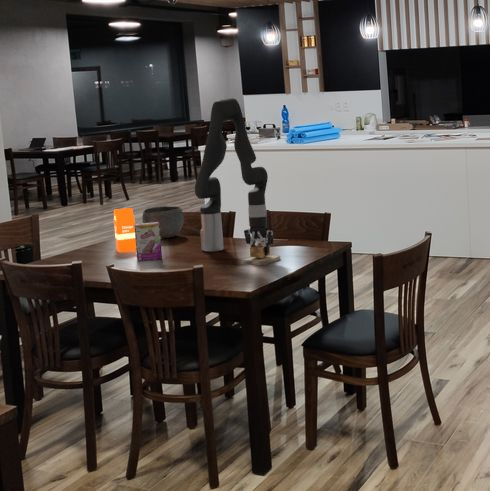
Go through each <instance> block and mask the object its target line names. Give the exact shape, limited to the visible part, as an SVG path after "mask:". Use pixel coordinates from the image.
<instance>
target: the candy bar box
mask: <svg viewBox="0 0 490 491" xmlns="http://www.w3.org/2000/svg"><path fill="white" fill-rule="evenodd" d="M134 228H135V240H136V260H137V262H148V261H149V262H151V261H158V260H159V261H160V260H163V252H162V239H161V237H160V224H159V222H153V223H143V222H142V223H135V224H134Z"/></svg>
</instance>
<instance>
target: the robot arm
mask: <svg viewBox="0 0 490 491" xmlns="http://www.w3.org/2000/svg"><path fill="white" fill-rule="evenodd" d="M210 112H211V113H210V120H209V129H208V133H207V138H206V142H205V146H204V149H203V150H204V152H203V156H202V161H201V164H200V169H199V171H198V174H197V176H196V180H195V184H194V194H195V196H196V197H197V198H198V199H200V200H202V199H204V200H205V199H209V200H208V202H206V204H203V205H202V206H201V207H200V211H199V213H200V222H201V229H200V230H199V232H200V233H199V235H200V243H201V244H200V246H201V251H204V252H218V251H223V250H224V236H223V224H222V211H221V208H222V192H221V191H222V189H221V182H220V180H219V178H217V177H215V176H211V175H212V174H213V173H214V171H216V170H217V169H218V168H219V167H220V166H221V164H222V163H223V161H224V160H225V158H226V157H225V156H226V152H227V148H228V145H227V141H226V139H225V137H224V135H223V132H222V128H223V124H224V122H228V121H232V122H233V124H234V128H235V135H234V142H233V143H234V144H233V146H234V151H235V153H236V157H237V158H238V161H239V163H240V170H241V171H240V172H241V178H242V181H243V182H244V184H246V185H248V186H254V188H253V189H251V190H249V191H248V193H247V199H248V200H247V201H248V202H247V203H248V209H247V210H248V222H249V223H248V226H249V228H248V229H244V230H243V233H244V238H245V244H246V245H249V246H250V247H253V246H256V243H257V241H258V240H260V241H261V243H262V245H264V246H265V247H264V254H265V255H268V254H269V246H271V245H273V244H274V235H275V233H274V232H275V231H274V230H269V229H268V217H267V216H268V214H267V207H266V195H265V194H266V191H267V190H266V189H267V185H268V184H267V183H268V172H267V170H266V168H265V167H263V166H255V167H252V164H253V163H255V162H256V161H257V156H256V153H255V152H254V149H253V146H252V144H251V141H250V139H249V135H248V133H247V132H248V131H247V129H246V128H247V127H246V123H245V120H244V116H243V111H242V108H241V106H240V104H239V101H238V100H237V99H236V98H233V97H231V98H230V97H229V98H223V99H217V100H215V101H213V103H212V107H211V111H210Z"/></svg>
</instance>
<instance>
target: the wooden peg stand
mask: <svg viewBox="0 0 490 491" xmlns="http://www.w3.org/2000/svg"><path fill="white" fill-rule="evenodd" d="M257 245H258V248H261V247H262V245H263V243H262V242H258V243H257ZM280 260H281V256H280V255H277V254H275V255H273V254H270V255H268V256H266V257H263V258H258V257H250V256H248V257H244V258H242V259H240V264H244V265H245V264H246V265H258V266H266V265H269V264H271V263H275V262H276V261H280Z"/></svg>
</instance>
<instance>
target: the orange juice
mask: <svg viewBox="0 0 490 491" xmlns="http://www.w3.org/2000/svg"><path fill="white" fill-rule="evenodd" d="M134 224H136V220H135V216H134V210H133V207H126V208H115V209H113V226H114V235H115V236H114V237H115V247H116V251H117V252H118V253H127V252H135V251H136V240H135V228H134Z"/></svg>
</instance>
